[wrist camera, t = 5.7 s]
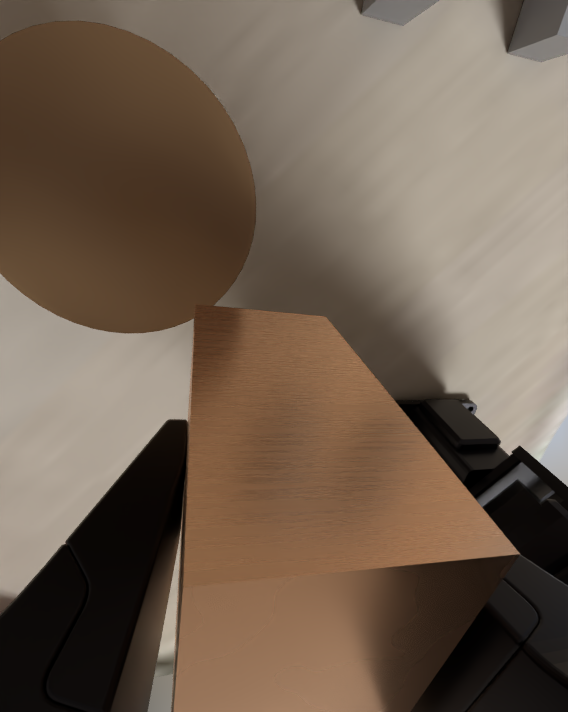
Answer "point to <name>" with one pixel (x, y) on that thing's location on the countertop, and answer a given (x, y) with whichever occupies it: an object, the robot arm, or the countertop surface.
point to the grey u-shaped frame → (532, 32)
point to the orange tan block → (315, 530)
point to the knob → (117, 180)
